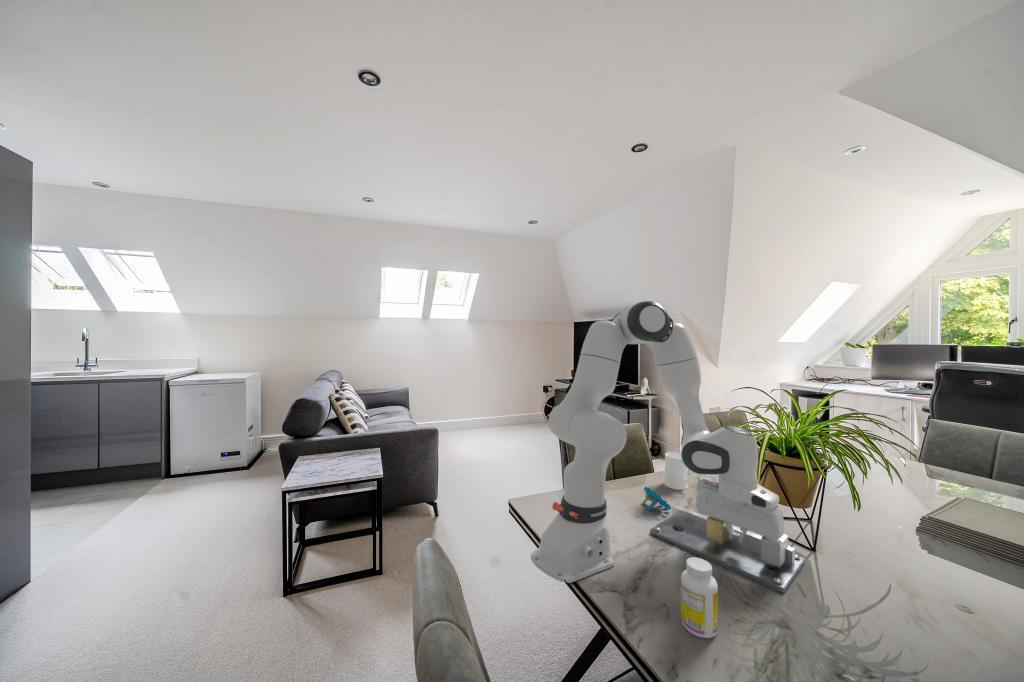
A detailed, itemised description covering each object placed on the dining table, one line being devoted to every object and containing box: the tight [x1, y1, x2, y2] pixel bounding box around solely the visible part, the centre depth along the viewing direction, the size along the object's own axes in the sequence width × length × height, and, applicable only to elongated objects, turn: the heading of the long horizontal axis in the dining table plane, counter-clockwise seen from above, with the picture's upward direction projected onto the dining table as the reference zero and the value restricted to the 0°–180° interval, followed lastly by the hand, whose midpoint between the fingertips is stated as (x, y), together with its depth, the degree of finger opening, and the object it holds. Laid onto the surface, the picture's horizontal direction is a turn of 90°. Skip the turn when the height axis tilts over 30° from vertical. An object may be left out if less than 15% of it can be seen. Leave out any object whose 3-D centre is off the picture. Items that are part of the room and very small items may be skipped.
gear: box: [642, 486, 672, 512], centre depth 126 cm, size 11×6×10 cm
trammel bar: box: [671, 504, 796, 569], centre depth 103 cm, size 8×31×7 cm, turn 40°
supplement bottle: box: [680, 556, 719, 639], centre depth 75 cm, size 7×7×13 cm
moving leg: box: [707, 515, 728, 545], centre depth 104 cm, size 8×4×7 cm, turn 130°
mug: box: [663, 451, 693, 491], centre depth 144 cm, size 12×8×12 cm
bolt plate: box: [649, 515, 806, 594], centre depth 103 cm, size 18×33×2 cm, turn 40°
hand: (736, 540), depth 98 cm, fingers closed
